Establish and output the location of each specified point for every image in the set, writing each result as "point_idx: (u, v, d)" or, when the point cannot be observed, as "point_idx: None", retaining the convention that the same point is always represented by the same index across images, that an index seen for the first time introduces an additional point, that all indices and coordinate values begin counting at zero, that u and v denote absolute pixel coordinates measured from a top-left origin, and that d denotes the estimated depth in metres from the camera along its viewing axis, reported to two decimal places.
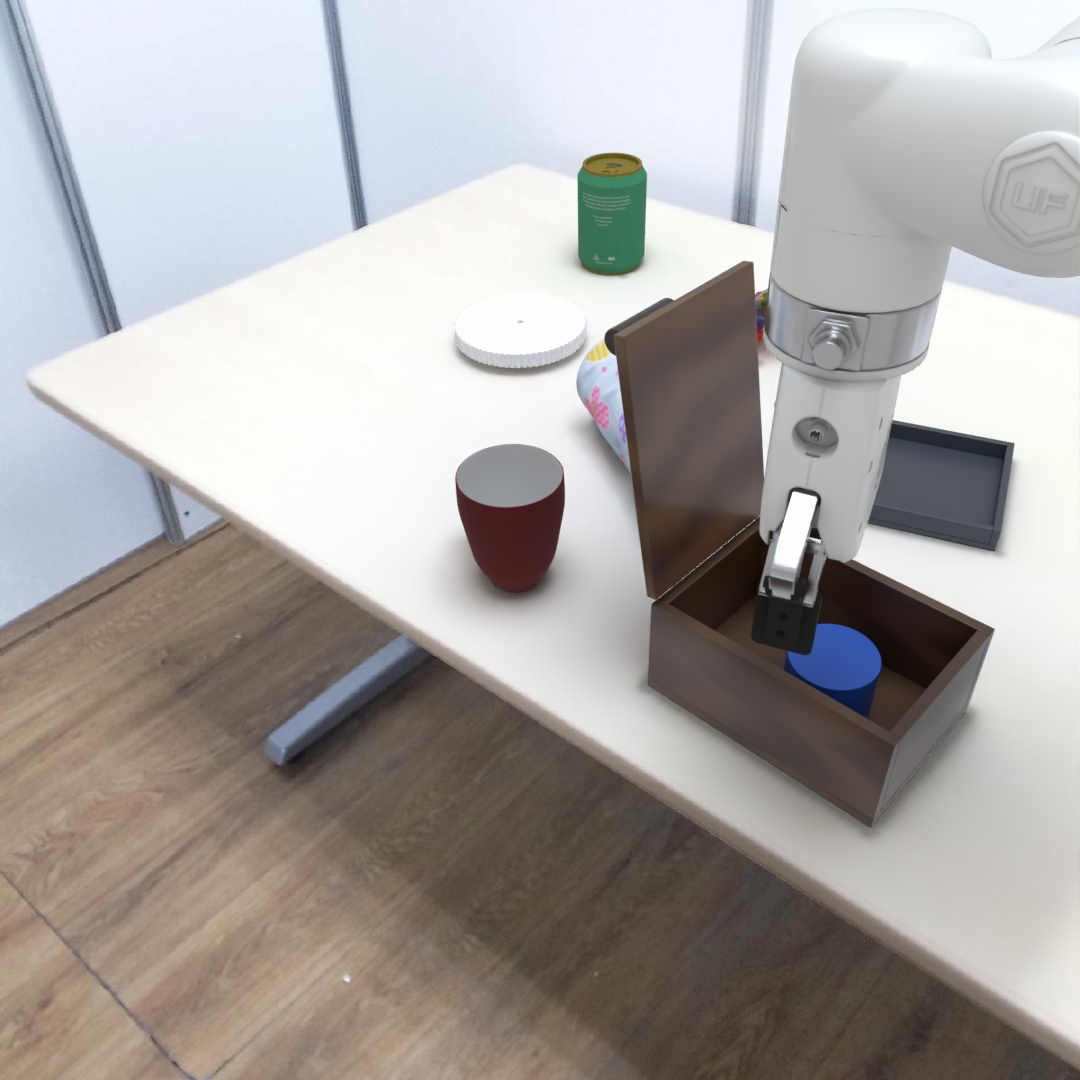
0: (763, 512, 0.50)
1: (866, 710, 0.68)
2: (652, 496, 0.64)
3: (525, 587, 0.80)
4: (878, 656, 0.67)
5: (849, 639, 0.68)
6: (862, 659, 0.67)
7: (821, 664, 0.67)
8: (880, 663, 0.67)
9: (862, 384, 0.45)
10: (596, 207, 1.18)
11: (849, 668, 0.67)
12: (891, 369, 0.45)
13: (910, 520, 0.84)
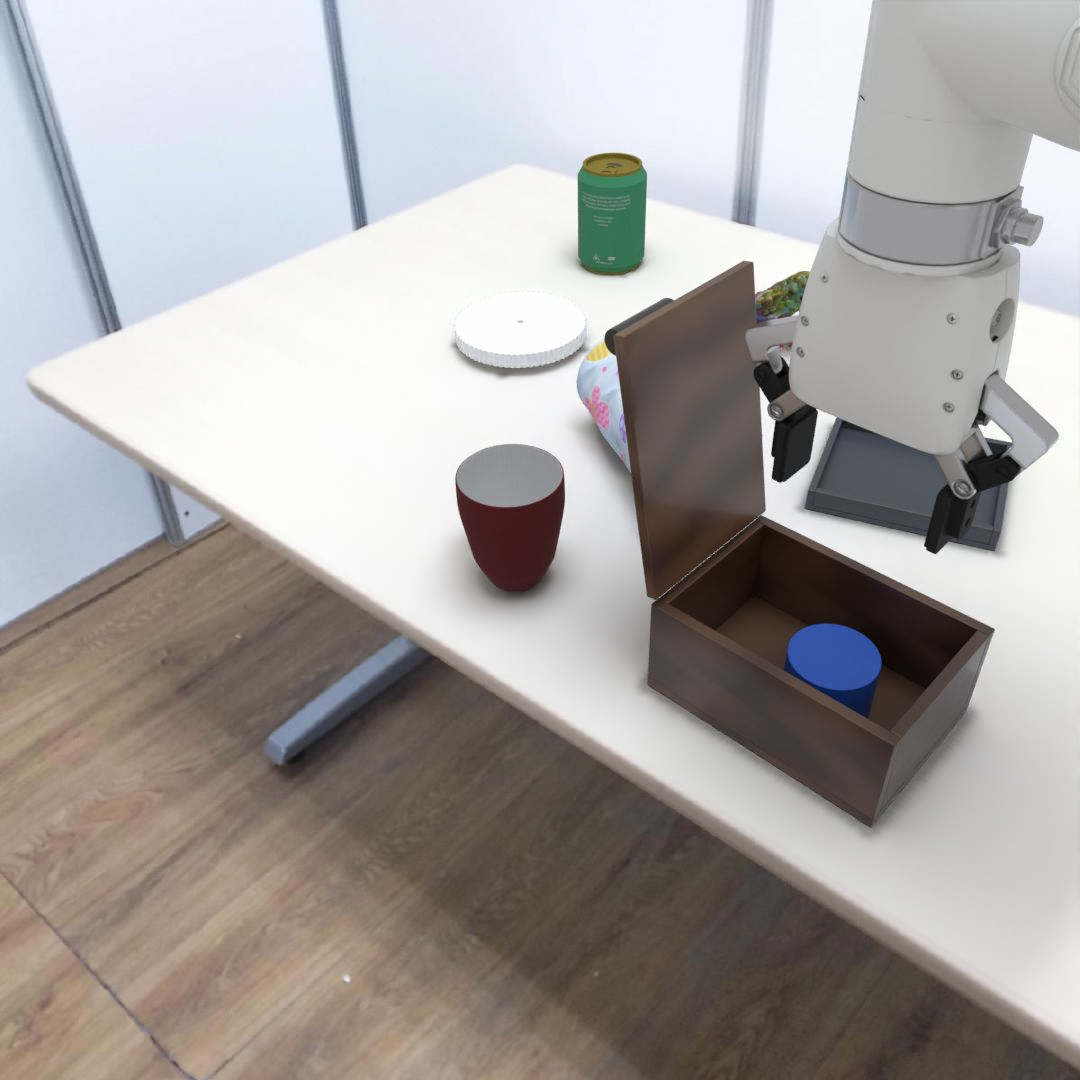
0: (961, 423, 0.50)
1: (866, 710, 0.68)
2: (652, 496, 0.64)
3: (525, 587, 0.80)
4: (878, 656, 0.67)
5: (849, 639, 0.68)
6: (862, 659, 0.67)
7: (821, 664, 0.67)
8: (880, 663, 0.67)
9: (1007, 252, 0.48)
10: (596, 207, 1.18)
11: (849, 668, 0.67)
12: None
13: (910, 520, 0.84)
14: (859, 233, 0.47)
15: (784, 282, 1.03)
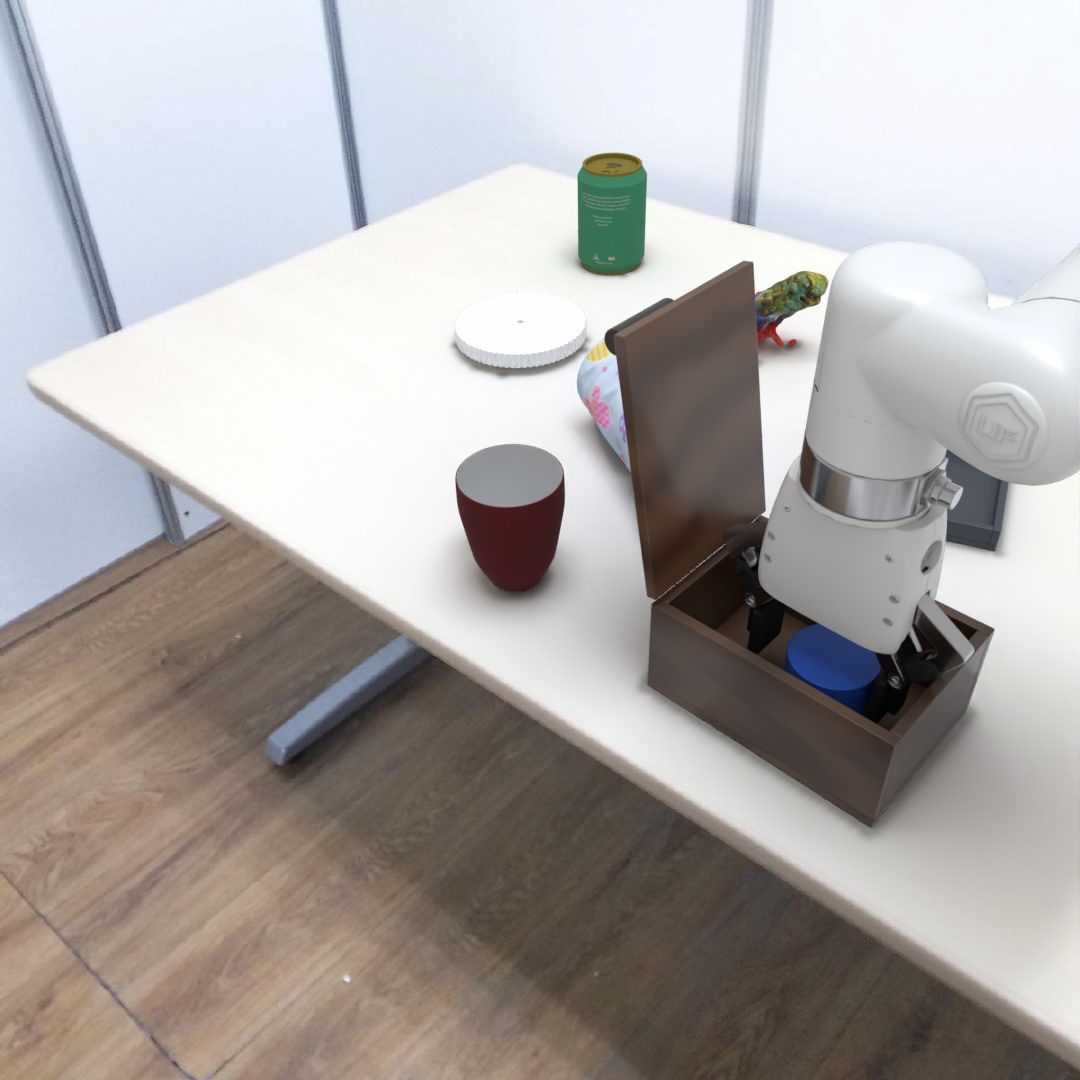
0: (898, 634, 0.60)
1: (866, 710, 0.68)
2: (652, 496, 0.64)
3: (525, 587, 0.80)
4: None
5: None
6: (862, 659, 0.67)
7: (821, 664, 0.67)
8: None
9: None
10: (596, 207, 1.18)
11: (849, 668, 0.67)
12: None
13: None
14: (814, 488, 0.57)
15: (784, 282, 1.03)
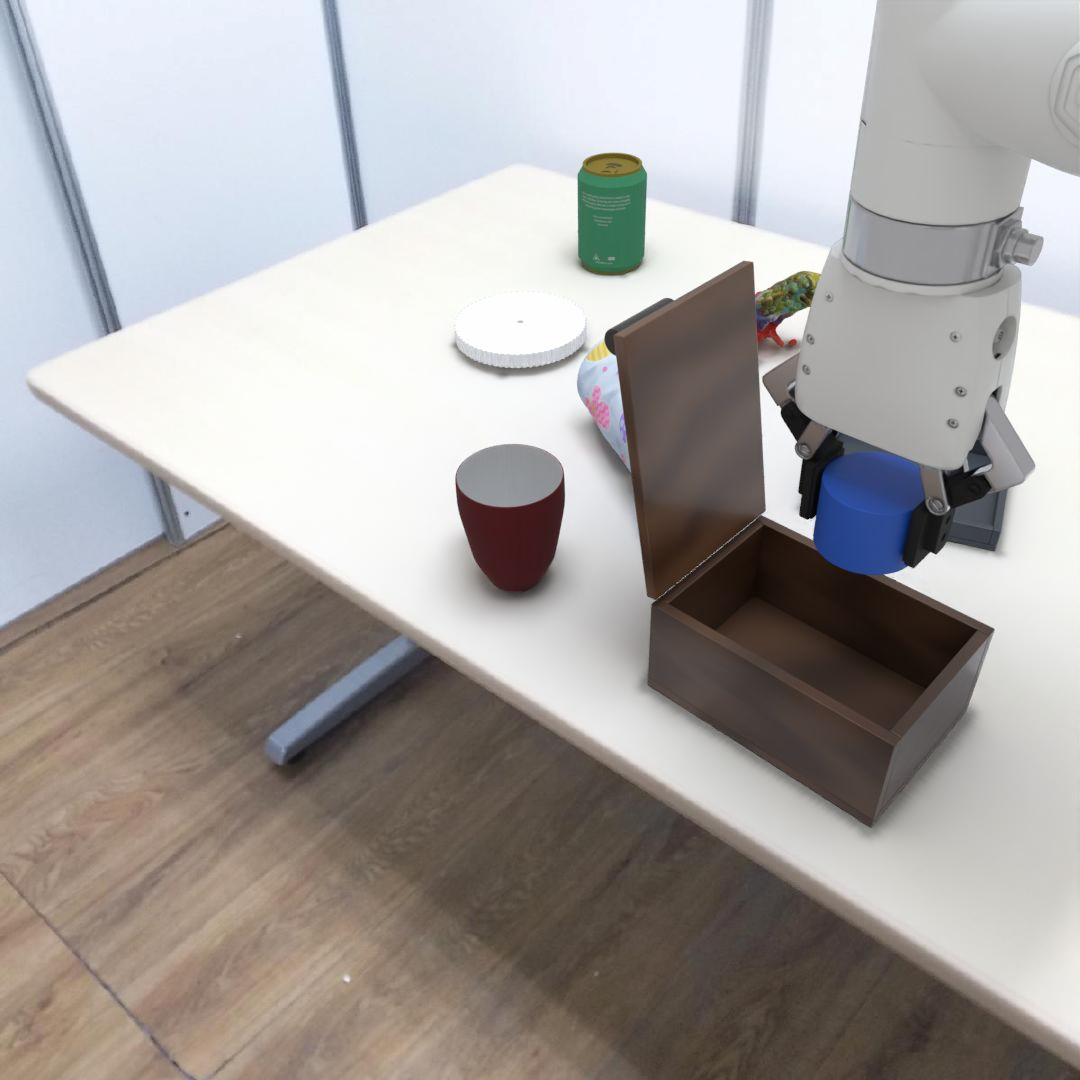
0: (965, 438, 0.51)
1: None
2: (652, 496, 0.64)
3: (525, 587, 0.80)
4: None
5: (894, 465, 0.59)
6: (910, 485, 0.58)
7: (863, 489, 0.58)
8: None
9: (1008, 271, 0.49)
10: (596, 207, 1.18)
11: (895, 493, 0.57)
12: None
13: None
14: (862, 254, 0.48)
15: (784, 282, 1.03)
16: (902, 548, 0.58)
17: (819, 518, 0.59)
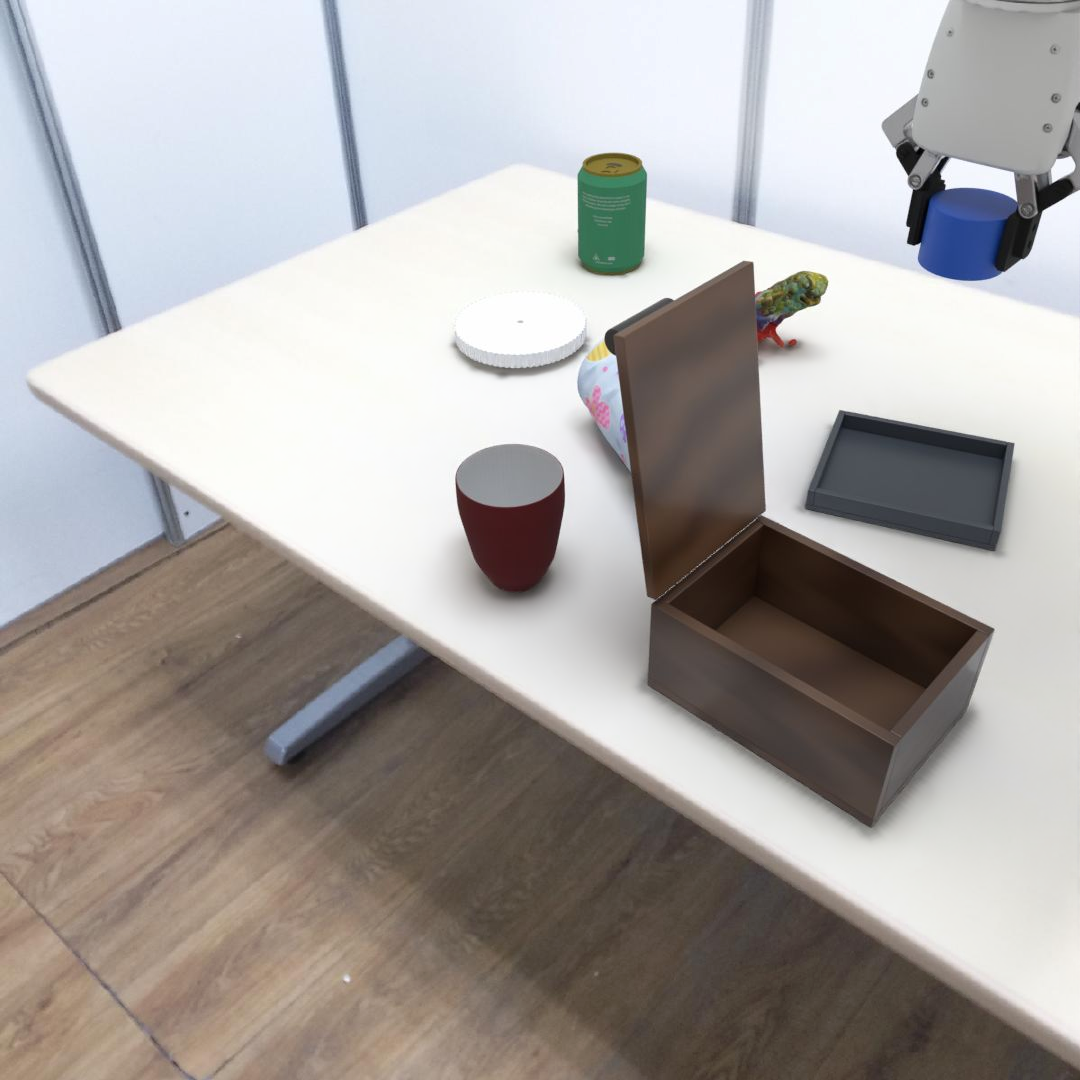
0: (1056, 141, 0.65)
1: None
2: (652, 496, 0.64)
3: (525, 587, 0.80)
4: (1016, 203, 0.72)
5: (987, 194, 0.73)
6: (1002, 205, 0.72)
7: (964, 208, 0.72)
8: None
9: None
10: (596, 207, 1.18)
11: (990, 209, 0.71)
12: None
13: (910, 520, 0.84)
14: None
15: (784, 282, 1.03)
16: (995, 255, 0.72)
17: (926, 237, 0.74)
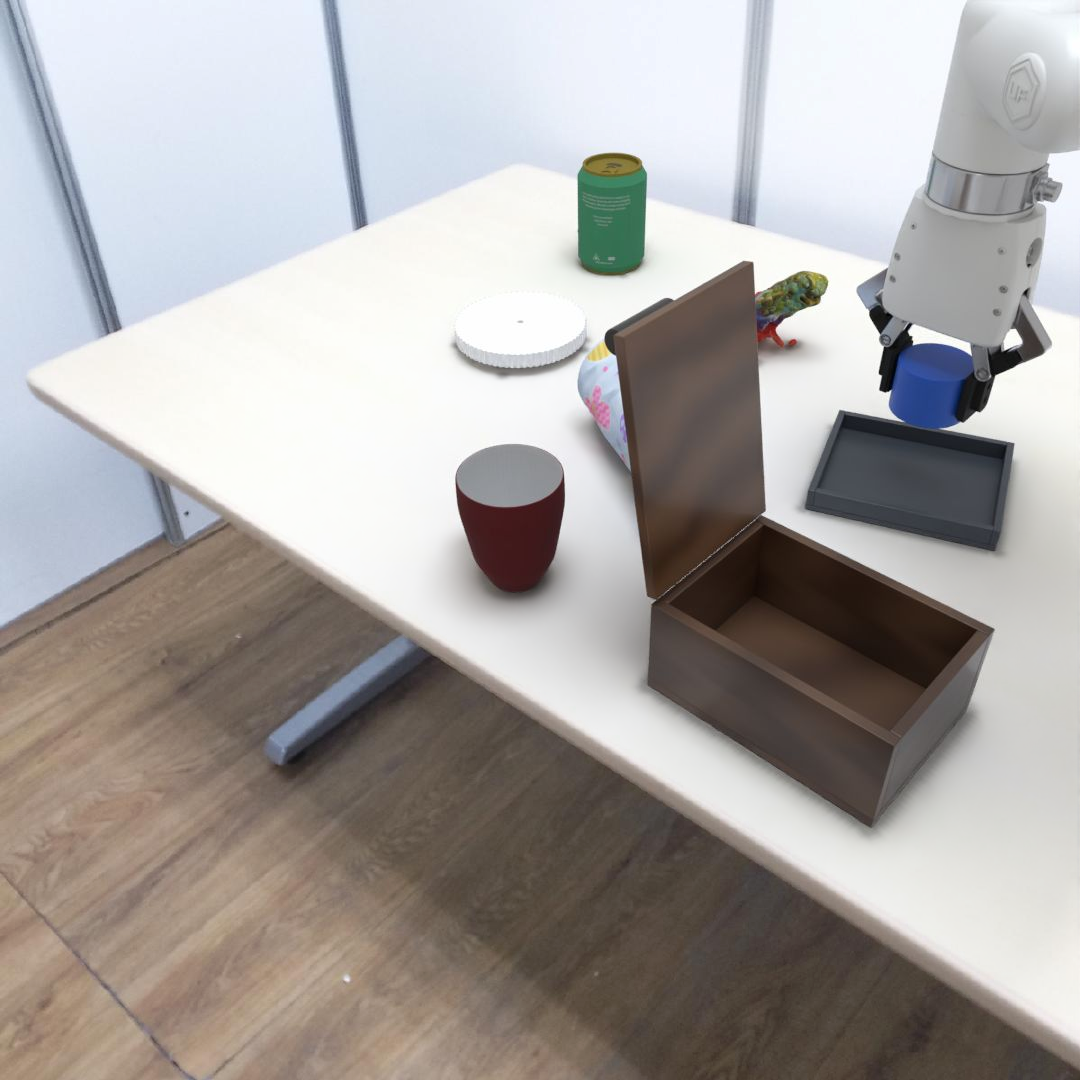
0: (1005, 323, 0.75)
1: None
2: (652, 496, 0.64)
3: (525, 587, 0.80)
4: None
5: (949, 351, 0.83)
6: (962, 363, 0.82)
7: (928, 366, 0.81)
8: None
9: (1037, 207, 0.72)
10: (596, 207, 1.18)
11: (951, 368, 0.81)
12: None
13: (910, 520, 0.84)
14: (941, 194, 0.72)
15: (784, 282, 1.03)
16: (955, 408, 0.82)
17: (895, 389, 0.83)
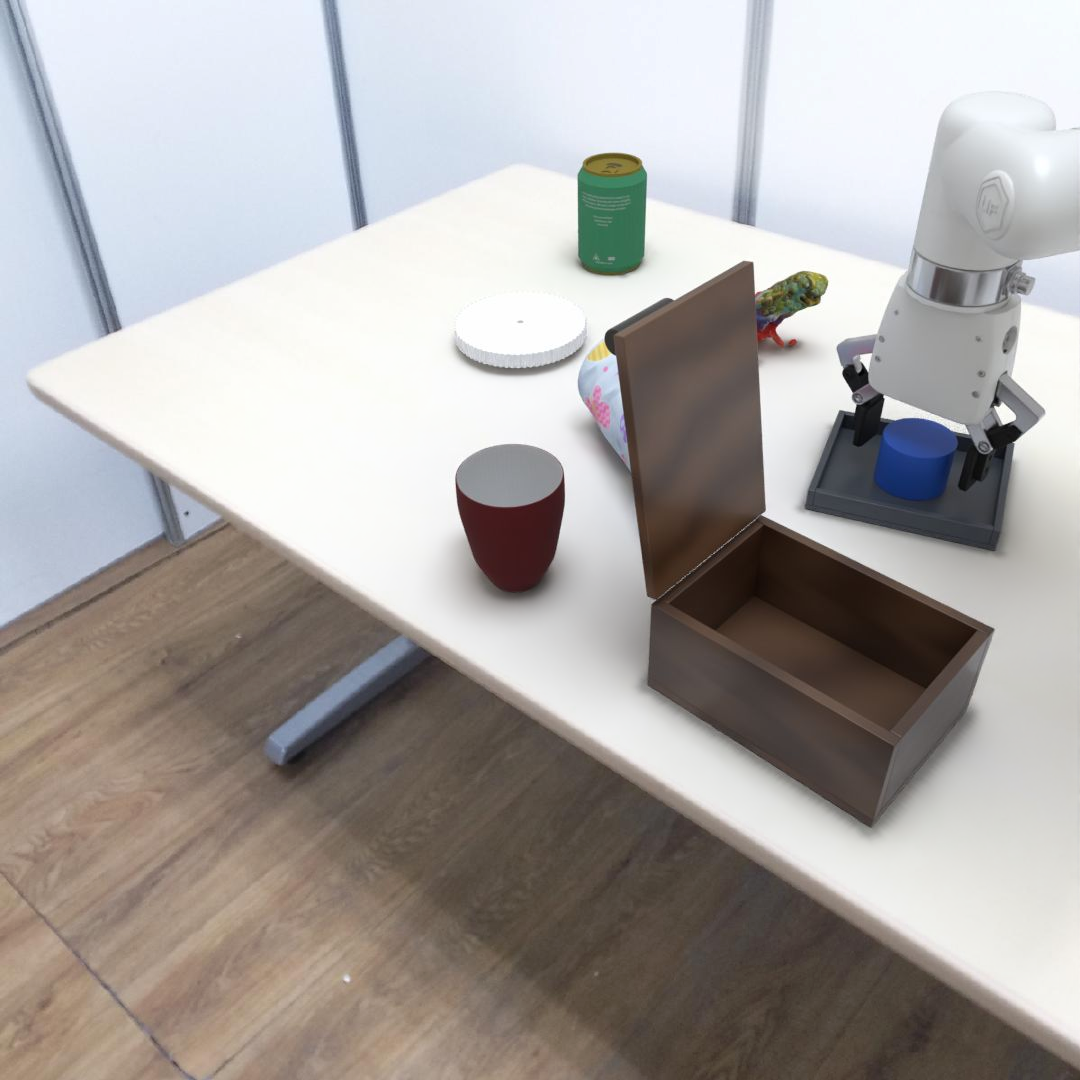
0: (983, 404, 0.79)
1: (945, 480, 0.87)
2: (652, 496, 0.64)
3: (525, 587, 0.80)
4: (954, 437, 0.86)
5: (931, 427, 0.88)
6: (942, 439, 0.86)
7: (911, 442, 0.86)
8: (956, 441, 0.86)
9: (1013, 297, 0.77)
10: (596, 207, 1.18)
11: (932, 444, 0.86)
12: None
13: (910, 520, 0.84)
14: (921, 286, 0.76)
15: (784, 282, 1.03)
16: (936, 481, 0.86)
17: (880, 462, 0.88)
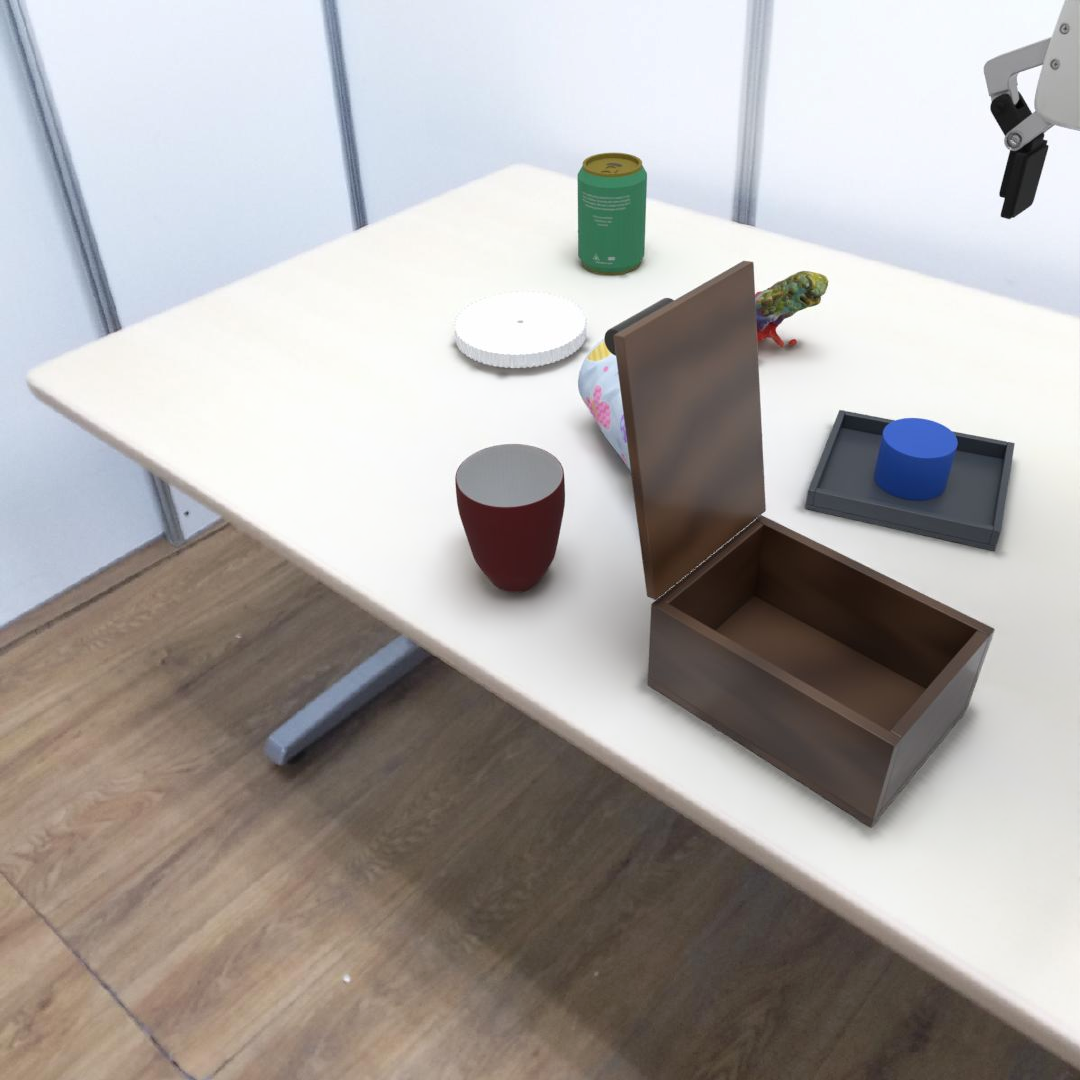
0: None
1: (945, 480, 0.87)
2: (652, 496, 0.64)
3: (525, 587, 0.80)
4: (954, 437, 0.86)
5: (931, 427, 0.88)
6: (942, 439, 0.86)
7: (911, 442, 0.86)
8: (956, 441, 0.86)
9: None
10: (596, 207, 1.18)
11: (932, 444, 0.86)
12: None
13: (910, 520, 0.84)
14: None
15: (784, 282, 1.03)
16: (936, 481, 0.86)
17: (880, 462, 0.88)
